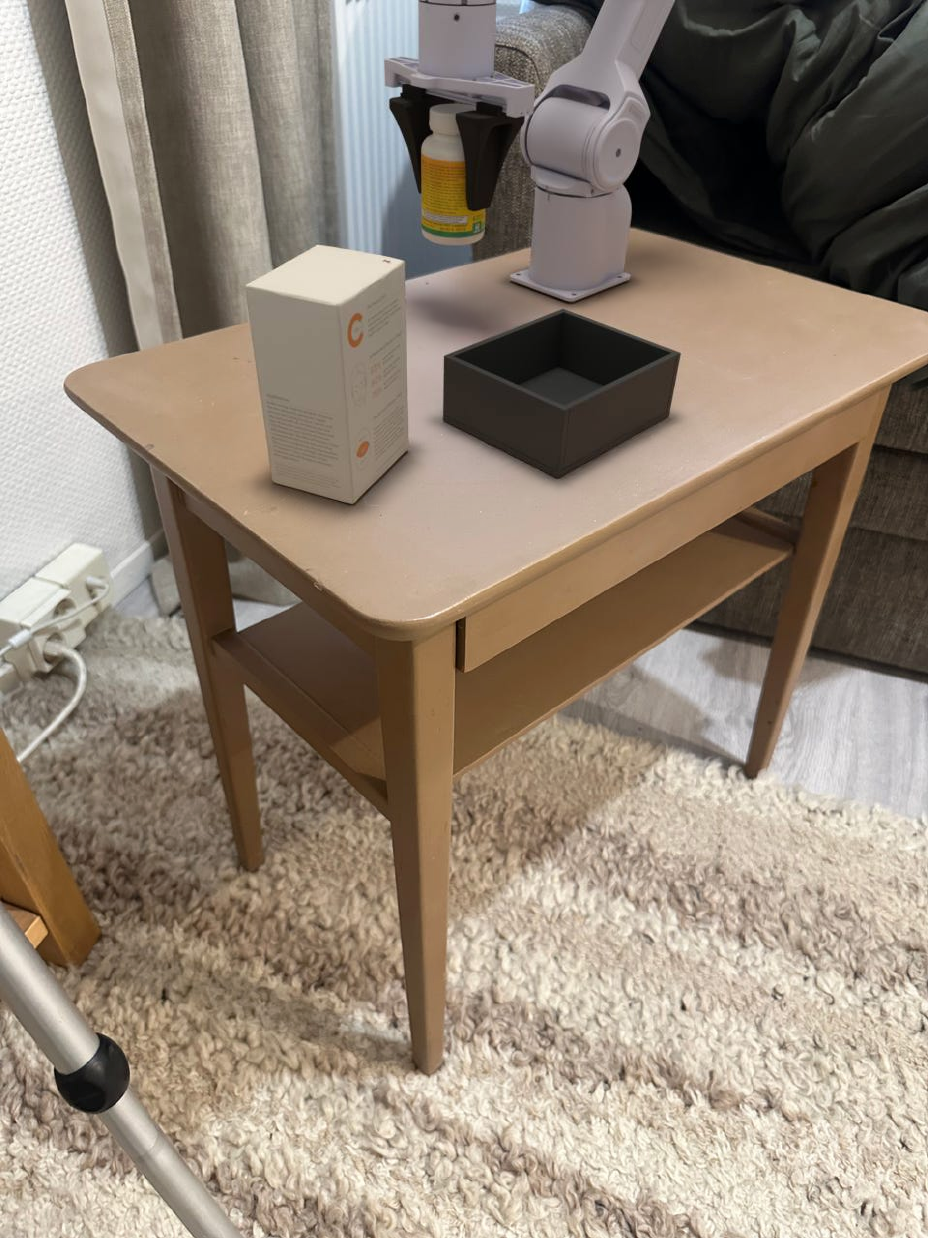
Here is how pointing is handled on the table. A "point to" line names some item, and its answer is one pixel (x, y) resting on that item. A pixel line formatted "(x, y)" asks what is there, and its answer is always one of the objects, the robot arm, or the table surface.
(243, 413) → the table surface
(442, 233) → the supplement bottle
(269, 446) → the small box
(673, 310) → the table surface
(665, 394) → the open black bin
